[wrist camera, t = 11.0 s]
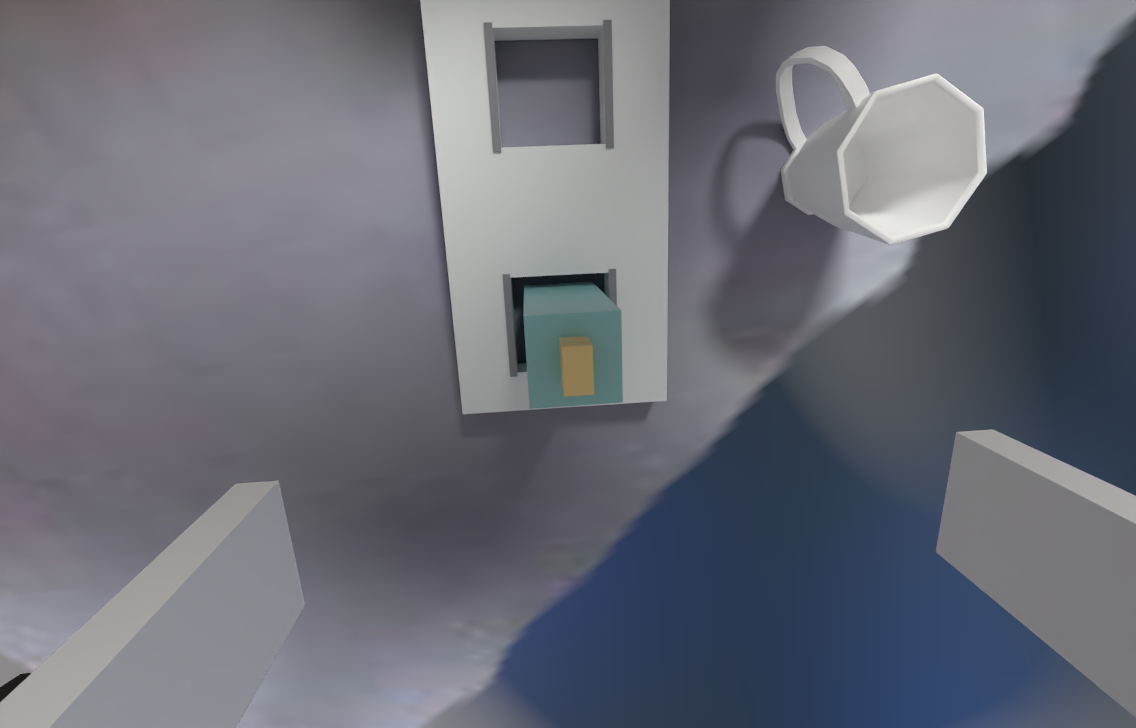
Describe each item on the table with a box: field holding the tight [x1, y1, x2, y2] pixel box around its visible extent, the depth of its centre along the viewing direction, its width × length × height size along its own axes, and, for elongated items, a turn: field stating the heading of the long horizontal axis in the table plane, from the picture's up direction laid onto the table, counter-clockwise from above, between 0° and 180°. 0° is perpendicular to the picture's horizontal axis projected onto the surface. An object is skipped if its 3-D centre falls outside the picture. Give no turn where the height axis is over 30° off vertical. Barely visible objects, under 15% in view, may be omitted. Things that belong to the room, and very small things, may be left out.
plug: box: [523, 282, 623, 409], centre depth 26 cm, size 4×4×12 cm
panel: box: [420, 0, 670, 414], centre depth 29 cm, size 22×12×2 cm, turn 2°
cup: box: [776, 46, 987, 245], centre depth 27 cm, size 7×10×8 cm
